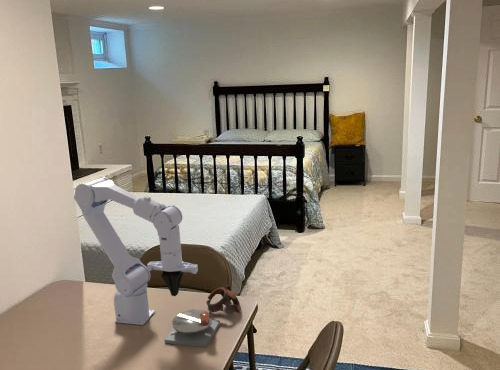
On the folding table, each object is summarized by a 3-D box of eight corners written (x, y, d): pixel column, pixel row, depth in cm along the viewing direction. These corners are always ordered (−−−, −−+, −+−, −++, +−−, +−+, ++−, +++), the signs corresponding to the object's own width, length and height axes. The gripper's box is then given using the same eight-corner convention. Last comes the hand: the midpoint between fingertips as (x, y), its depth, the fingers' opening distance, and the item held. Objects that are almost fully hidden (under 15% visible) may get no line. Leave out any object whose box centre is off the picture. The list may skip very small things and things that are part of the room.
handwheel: (219, 331, 125) (217, 313, 124) (181, 344, 120) (179, 325, 119) (203, 314, 135) (201, 297, 133) (167, 325, 130) (166, 307, 128)
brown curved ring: (243, 319, 135) (228, 300, 132) (216, 330, 137) (201, 312, 134) (244, 291, 145) (230, 273, 142) (218, 302, 148) (205, 285, 144)
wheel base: (164, 342, 124) (164, 338, 123) (181, 319, 135) (181, 315, 135) (206, 347, 121) (206, 343, 120) (220, 323, 132) (219, 319, 132)
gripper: (200, 245, 128) (203, 289, 132) (153, 243, 132) (157, 286, 135) (191, 255, 122) (194, 301, 125) (142, 252, 125) (146, 297, 129)
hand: (174, 294), depth 130 cm, fingers closed
